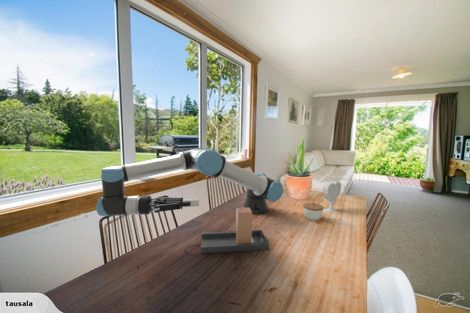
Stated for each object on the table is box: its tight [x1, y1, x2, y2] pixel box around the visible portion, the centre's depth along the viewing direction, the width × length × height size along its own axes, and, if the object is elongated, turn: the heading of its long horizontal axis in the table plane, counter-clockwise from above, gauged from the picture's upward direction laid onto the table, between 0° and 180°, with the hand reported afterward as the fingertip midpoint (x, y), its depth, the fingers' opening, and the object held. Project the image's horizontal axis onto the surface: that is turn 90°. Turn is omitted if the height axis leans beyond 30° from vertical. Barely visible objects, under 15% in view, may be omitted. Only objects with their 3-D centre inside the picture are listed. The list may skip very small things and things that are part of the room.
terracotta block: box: [235, 207, 253, 244], centre depth 94 cm, size 6×6×14 cm
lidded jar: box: [303, 202, 325, 222], centre depth 123 cm, size 11×11×9 cm
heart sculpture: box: [322, 180, 342, 214], centre depth 137 cm, size 16×5×18 cm, turn 126°
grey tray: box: [200, 229, 270, 254], centre depth 94 cm, size 28×13×2 cm, turn 97°
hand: (198, 202), depth 90 cm, fingers closed
